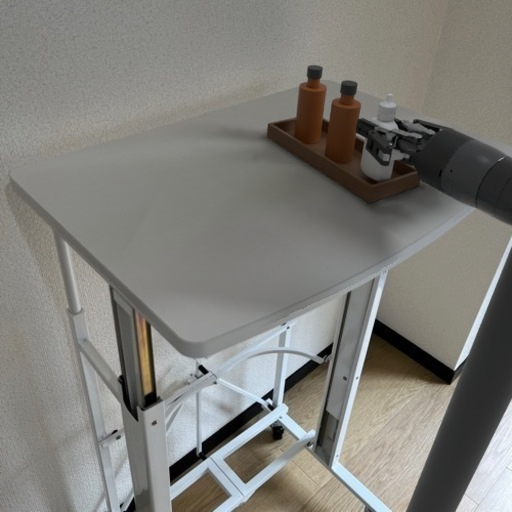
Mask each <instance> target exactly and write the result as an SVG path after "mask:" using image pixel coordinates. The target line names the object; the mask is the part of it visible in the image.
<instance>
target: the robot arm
mask: <svg viewBox="0 0 512 512" xmlns="http://www.w3.org/2000/svg"><path fill="white" fill-rule="evenodd" d="M394 122H395V123H396V124H397V126H398V128H399V129H396V128H394V129H392V130H388V129H385V128H382V127H379V125H376V124H374V123H372V122H370V121H369V120H368V119H366V118H364V117H361V118H359V119H358V120H357V125H356V135H358V136H361V137H363V138H364V139H365V138H367V144H366V148H365V149H366V150H367V151H368V152H369V153H370V154H371V155H372V156H373V157H374V158H375V159H376V160H377V161H378V163H379V164H380V165H382V166H389V164H390V160H400V161H401V162H402V163H404V164H408V165H411V166H413V167H415V169H416V171H417V173H418V176H419V178H420V181H421V182H423V183H424V184H426V185H428V186H430V187H432V188H434V189H436V190H437V191H440V192H441V193H443V194H445V195H446V196H448V197H450V198H452V199H454V200H456V201H458V202H460V203H461V204H464V205H466V206H468V207H471V208H475V209H477V210H479V211H481V212H482V213H484V214H486V215H488V216H489V217H491V218H493V219H495V220H497V221H499V222H500V223H503V224H505V225H507V226H510V227H512V156H510V155H508V154H506V153H505V152H503V151H502V150H500V149H498V148H496V147H494V146H492V145H490V144H488V143H486V142H483V141H480V140H478V139H476V138H474V137H472V136H470V135H467V134H465V133H462V132H461V131H459V130H456V129H454V128H452V127H448V126H444V125H441V124H437V123H433V122H430V121H426V120H422V119H419V118H414V119H413V120H412V122H411V121H410V120H408V119H402V120H401V119H399V118H396V117H395V118H394ZM382 135H385V136H386V137H387V141H386V140H385V139H384V138H383V137H382ZM396 137H398V138H397V140H396ZM395 142H396V145H395Z"/></svg>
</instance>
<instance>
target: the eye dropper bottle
mask: <svg viewBox="0 0 512 512" xmlns="http://www.w3.org/2000/svg"><path fill="white" fill-rule="evenodd" d="M393 96H394V95H393V94H392V93H387V94H386V97H385V99H384V100H383V101H380V102H379V103H378V107H377V108H378V109H377V114H376V116H374V117H371V118H369V120H368V121H370V122H372V123H374V124H376V125H379V127H382V128H385V129H388V130H392V129H394V128H396V129H399V128H398V126H397V124H396V123H395V122H394V118H396V113H397V108H398V105H397V104H396V103H395V102H394V101H393V100H394V99H393V98H394V97H393ZM382 137H383V138H384V139H385V140H386V141H387V137H386V136H385V135H382ZM397 138H398V137H396V140H397ZM364 140H365V141H364V147H363V153H362V158H361V169H362V171H363V172H364V174H366V175H367V176H368V177H370V178H371V179H374V180H376V181H385V180H389V179H390V178H391V174H392V169H393V165H394V160H390V164H389V166H382V165H380V164H379V163H378V161H377V160H376V159H375V158H374V157H373V156H372V155H371V154H370V153H369V152H368V151H367V150H366V149H365V148H366V144H367V138H365V137H364ZM395 145H396V142H395Z"/></svg>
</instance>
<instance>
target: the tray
mask: <svg viewBox="0 0 512 512" xmlns="http://www.w3.org/2000/svg"><path fill="white" fill-rule="evenodd" d="M295 124H296V116H295V117H291V118H286V119H281V120H278V121H273V122H268V123H267V128H266V129H267V131H266V138H267V139H269V140H270V141H272V142H273V143H275V144H276V145H278V146H280V147H281V148H283V150H286V151H288V152H289V153H291V154H293V155H294V156H295V157H297V158H299V160H301V161H303V162H304V163H306V164H308V165H309V166H310V167H312V168H314V169H316V170H317V171H319V173H322V174H323V175H325V176H326V177H328V178H329V179H331V180H333V181H334V182H335V183H338V184H339V185H340V186H342V187H343V188H345V189H346V190H348V191H350V192H351V193H352V194H354V195H356V196H358V197H359V198H361V199H362V200H364V201H365V202H367V203H368V204H371V203H374V202H377V201H379V200H383V199H386V198H389V197H391V196H395V195H397V194H400V193H403V192H406V191H408V190H412V189H415V188H418V187H419V186H420V183H421V182H420V181H421V180H420V178H419V176H418V173H417V171H416V169H415V167H414V166H411V165H408V164H404V163H402V162H401V161H400V160H394V165H393V169H392V174H391V178H390V179H389V180H385V181H376V180H374V179H371V178H370V177H368V176H367V175H366V174H364V172H363V171H362V169H361V158H362V153H363V147H364V141H365V139H364V138H361V137H360V136H359V135H356V138H355V144H354V150H353V156H352V160H351V161H350V162H348V163H335V162H334V161H332V160H330V159H329V158H327V157H326V156H325V148H326V141H327V134H328V127H329V119H326V118H325V117H323V121H322V129H321V137H320V141H319V142H318V143H315V144H304V143H303V142H301V141H299V140H298V139H296V138H294V134H295Z"/></svg>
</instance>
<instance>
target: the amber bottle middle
mask: <svg viewBox="0 0 512 512" xmlns="http://www.w3.org/2000/svg"><path fill="white" fill-rule="evenodd" d="M358 86H359V85H358V82H356V81H355V80H349V79H347V80H342V81H341V83H340V89H339V93H340V97H337V98H334V99H332V100H331V106H330V112H329V113H330V114H329V119H328V121H329V127H328V134H327V141H326V148H325V156H326V157H327V158H329V159H330V160H332V161H334V162H335V163H348V162H350V161H351V160H352V156H353V150H354V144H355V138H356V136H357V133H356V125H357V120H358V119H360V114H361V108H362V103H361V102H360V101H359V100H357V99H355V96H356V95H357V91H358Z"/></svg>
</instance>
